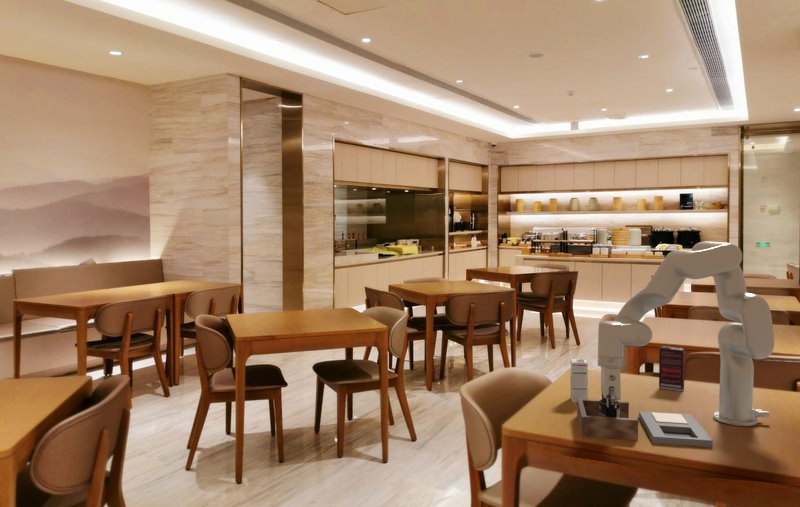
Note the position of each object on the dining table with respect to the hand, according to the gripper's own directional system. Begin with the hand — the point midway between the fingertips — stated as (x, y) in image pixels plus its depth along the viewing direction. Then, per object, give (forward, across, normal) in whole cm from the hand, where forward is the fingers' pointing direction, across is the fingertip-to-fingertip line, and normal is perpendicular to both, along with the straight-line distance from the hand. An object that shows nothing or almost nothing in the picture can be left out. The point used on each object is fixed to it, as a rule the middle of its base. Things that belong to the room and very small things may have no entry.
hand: (608, 415), depth 193 cm
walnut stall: (+4, 0, +1) cm, 4 cm away
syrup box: (+4, +28, +7) cm, 29 cm away
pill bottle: (+4, 0, 0) cm, 4 cm away
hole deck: (+4, +1, -19) cm, 20 cm away
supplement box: (+4, +51, -29) cm, 59 cm away
